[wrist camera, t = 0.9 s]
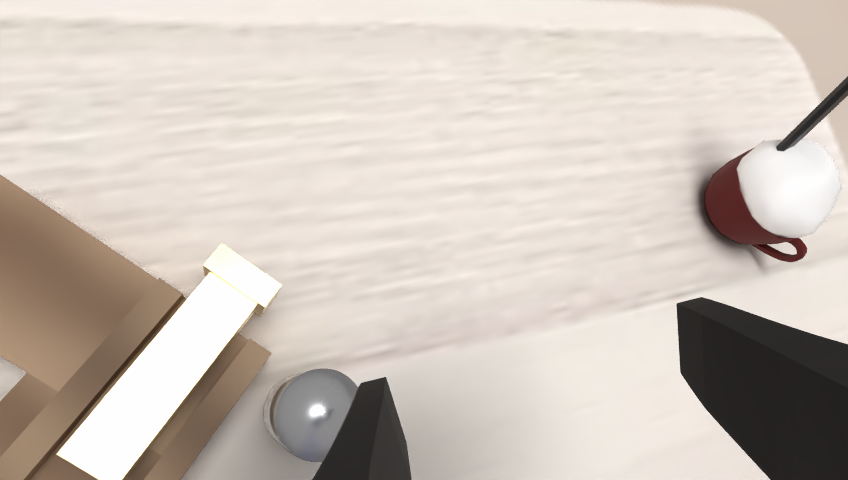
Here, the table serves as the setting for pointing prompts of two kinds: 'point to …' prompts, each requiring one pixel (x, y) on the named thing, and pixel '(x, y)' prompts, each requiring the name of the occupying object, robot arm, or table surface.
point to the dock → (89, 345)
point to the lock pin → (170, 368)
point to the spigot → (309, 411)
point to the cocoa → (778, 188)
